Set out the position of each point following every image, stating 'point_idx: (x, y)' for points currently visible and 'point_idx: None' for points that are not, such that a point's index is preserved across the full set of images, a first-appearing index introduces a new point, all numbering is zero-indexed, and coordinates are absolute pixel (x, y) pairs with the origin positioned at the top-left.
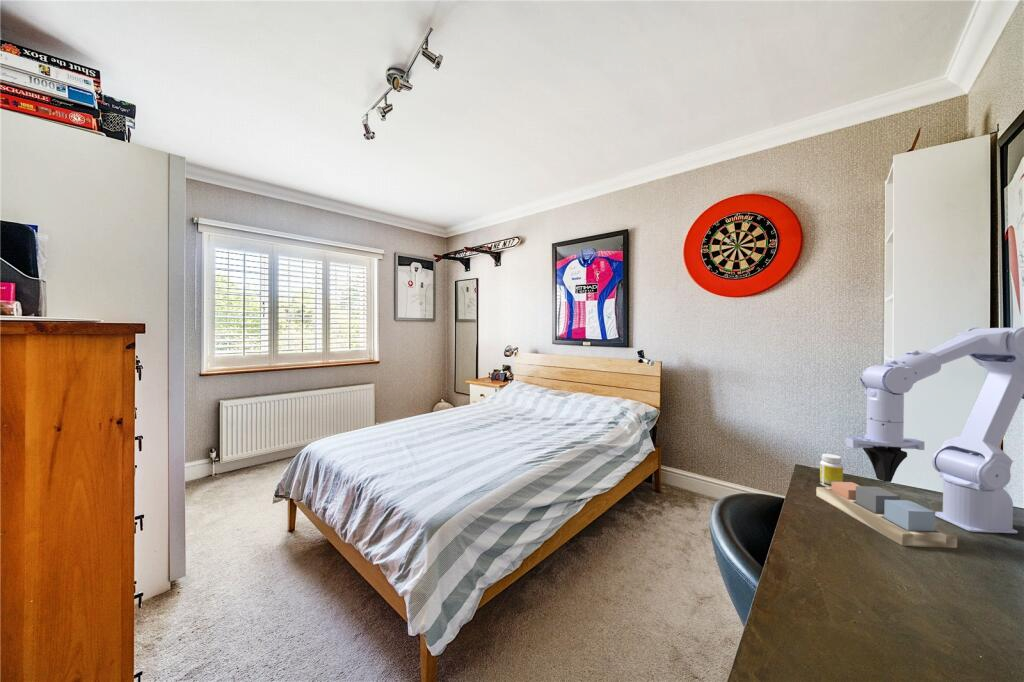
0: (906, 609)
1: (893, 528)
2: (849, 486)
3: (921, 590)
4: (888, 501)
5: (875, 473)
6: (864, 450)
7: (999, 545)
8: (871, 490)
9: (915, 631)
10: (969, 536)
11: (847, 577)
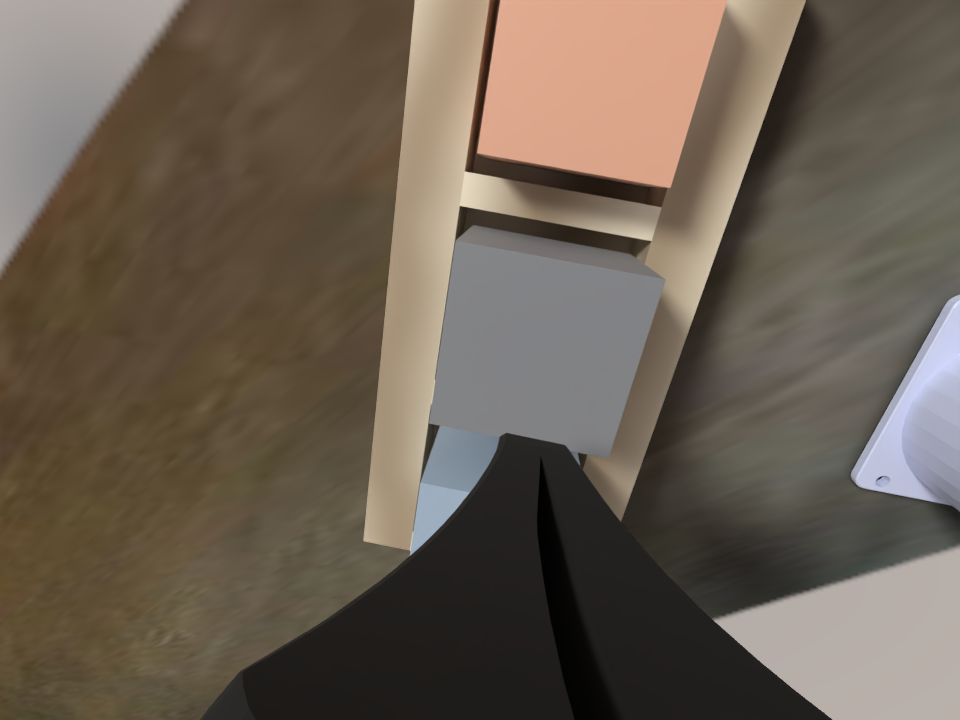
0: (102, 680)
1: (371, 504)
2: (574, 69)
3: (202, 652)
4: (420, 504)
5: (495, 453)
6: (275, 663)
7: (805, 560)
8: (499, 340)
9: (68, 714)
10: (786, 497)
11: (38, 588)
